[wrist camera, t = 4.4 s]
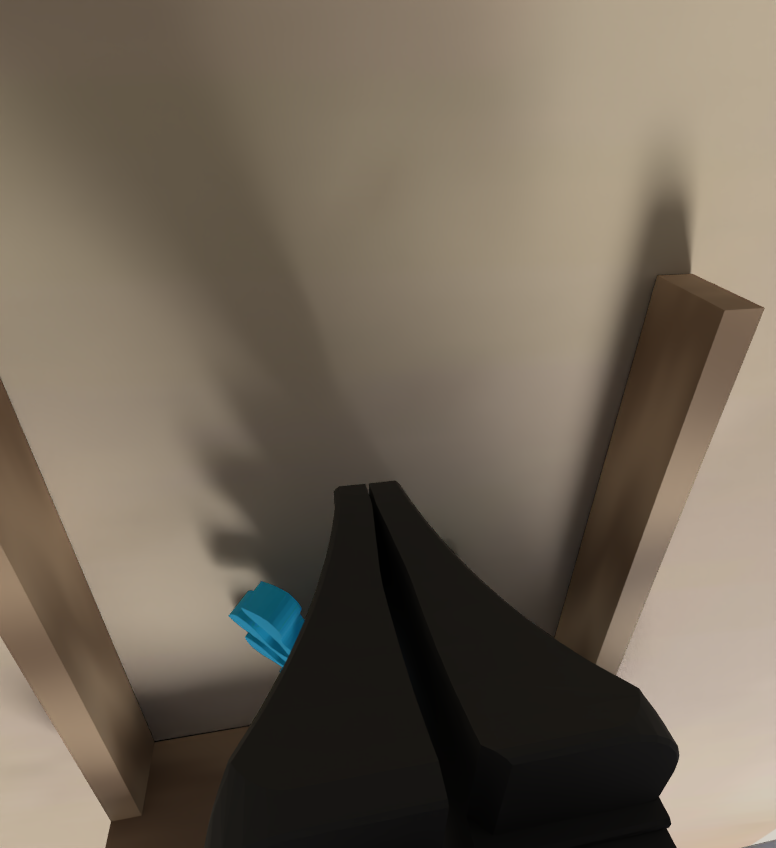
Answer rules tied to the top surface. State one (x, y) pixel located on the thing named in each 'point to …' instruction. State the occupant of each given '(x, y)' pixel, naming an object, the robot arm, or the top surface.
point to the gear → (269, 621)
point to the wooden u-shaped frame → (209, 753)
